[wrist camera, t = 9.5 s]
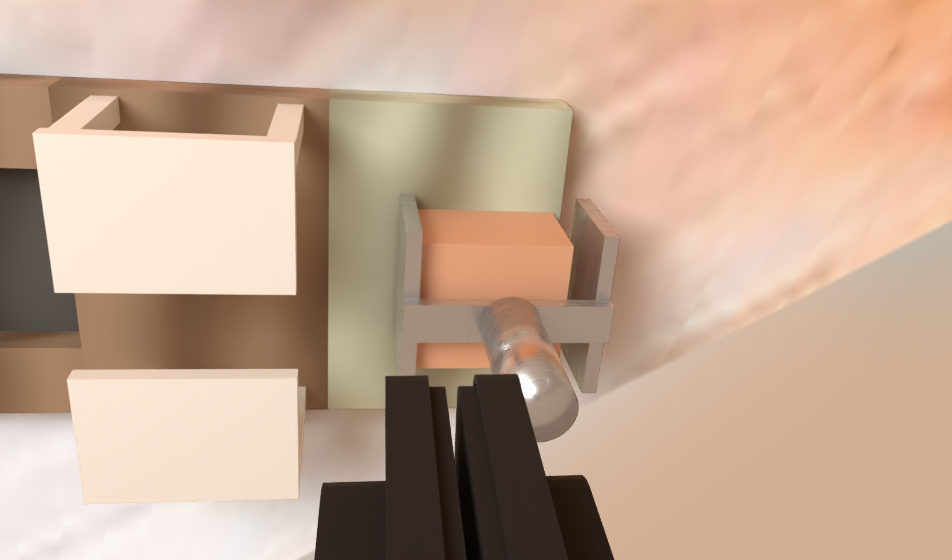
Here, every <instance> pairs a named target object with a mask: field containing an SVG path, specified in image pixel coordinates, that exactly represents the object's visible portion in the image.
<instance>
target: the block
mask: <svg viewBox="0 0 952 560" xmlns="http://www.w3.org/2000/svg"><path fill="white" fill-rule="evenodd" d="M418 213H419V218H420V222H421V227H422V231H423V239H422V258H421V277H420V296H419V299H501V298H505V297H519V298H523V299H525V300H567V295H568V287H569V280H570V272H571V264H572V257H573V249H574V246H573V244H572V243H571V241H570V240H569V238H568V237H567V235H566V234H565V232H564V230H563V229H562V227H561V226H560V224H559V223H558V221H557V220H556V218H555V216H554V215H553V213H552V212H522V211H482V210H443V209H418ZM552 344H553V346H554V348H555V350H556V353H557V355H558V357H559V356H560V349H561V343H552ZM416 368H490V365H489V362H488V358H487V355H486V352H485V348H484V345H483V343H417V353H416Z"/></svg>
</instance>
